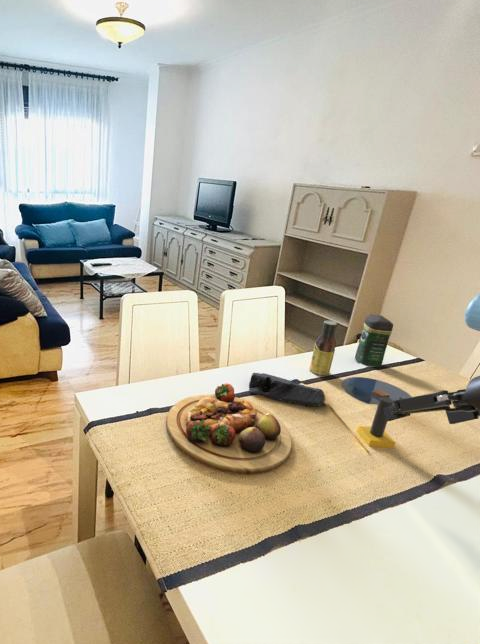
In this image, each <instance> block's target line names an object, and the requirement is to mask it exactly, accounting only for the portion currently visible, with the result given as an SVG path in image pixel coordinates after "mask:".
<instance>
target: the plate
mask: <svg viewBox="0 0 480 644" xmlns="http://www.w3.org/2000/svg"><path fill="white" fill-rule="evenodd" d="M340 382H341V383H340V384H341V385H340V386H341V388H342V389H343V391H344V392H345V393H347V395H349V396H351V397H352V398H354V399H355V400H358V401H359V402H362V403H364V404H367V405H377V406H378V404H379V400H380V398H379V397H377V396H375V395H374V394H372V392H373V391H376V390H382V391H384V392H385V393H387V394H389V395H390V396H389V398H390V399H392V400H398V399H399V398H403V399H404V398H410V397H413V396H412V395H411V394H410V393H408V392H407V391H405V390H403V389H402V388H400V387H398V386H396V385H394V384H392V383H388V382H386V381H382V380H379V379H375V378H370V377H361V376H351V377H346V378H343V380H341V381H340ZM393 405H394V404H393Z"/></svg>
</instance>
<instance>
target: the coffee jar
mask: <svg viewBox="0 0 480 644" xmlns="http://www.w3.org/2000/svg"><path fill="white" fill-rule="evenodd" d="M393 328H394V323H393V322H392V321H390V320H389V319H388V318H386V317H385V316H383V315H381V314H380V315H379V314H373V313H372V314H369V315H367V316H366V317H365V319H364V322H363V327H362V331H361V334H360V339H359V342H358V345H357V348H356V352H355V354H354V360H355V361H356V362H357V363H358V364H361V365H363V366H367V367H374V368H381V367H382V365H383V362H384V358H385V354H386V350H387V347H388V342H389V340H390V337H391V335H392V333H393Z"/></svg>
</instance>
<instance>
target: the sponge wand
mask: <svg viewBox="0 0 480 644" xmlns="http://www.w3.org/2000/svg"><path fill="white" fill-rule="evenodd" d="M392 405H393V400H392V399H390V398H387V397H381V398H380V400H379V404H378V405H377V407H376V410H375V414H374V417H373V420H372V424H371V426H362V425H358V426H357V429H356V433H357V434H358V435H359V436H360V438H362V440H363V441H364V442H365V443H366V445H367V446H368V447H377V448H389V449H390V448H391V449H392V448H393V449H395V448H394V447H395V445H396V441H395V440H394V439H393V438H392V437H391V436H390V435H389V434H388V433H387V431H385V430H386V427H387V424H388V421H386V417H385V413H384V409H383V408H386V407H389V406H392ZM354 438H355V440H356V441H357V442H358V443H359V445H360V446H361V447H363V449H364V451H365V452H366V453H370V451H369V450H368V449H367V448H366V446H365V445H364V444H363V443H362V441H361V440H360V439H359V438H358V437H357V435H354Z"/></svg>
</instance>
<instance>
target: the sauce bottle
mask: <svg viewBox="0 0 480 644" xmlns="http://www.w3.org/2000/svg"><path fill="white" fill-rule="evenodd" d="M337 327H338V323H337V322H336V321H334V320H324V321H323V323H322V330H321V334H319V336H318V337H317V339H316V340H315V342H314V347H313V351H312V355H311V360H310V361H311V362H310V364H309V372H310V373H312V374H313V375H315V376H319V377H327V376H329V374H330V371H331V368H332V364H333V360H334V356H335V351H336V346H337V341H336V338H335V332H336V329H337Z"/></svg>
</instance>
